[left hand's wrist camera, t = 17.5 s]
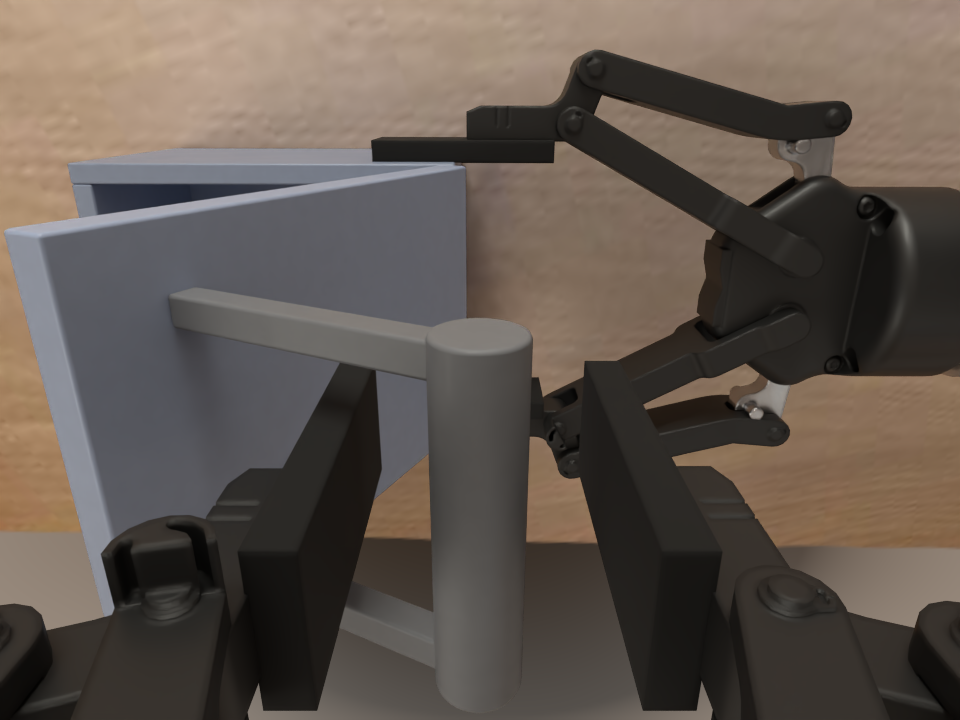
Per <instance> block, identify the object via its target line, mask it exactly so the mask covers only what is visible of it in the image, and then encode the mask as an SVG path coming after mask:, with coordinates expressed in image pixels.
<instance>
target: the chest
mask: <svg viewBox="0 0 960 720" xmlns="http://www.w3.org/2000/svg"><path fill="white" fill-rule="evenodd" d="M439 165H450V166H461V163H454V162H372V149H290V148H175V149H167V150H160V151H153V152H146V153H138V154H131V155H124V156H117V157H109V158H102V159H95V160H87V161H80V162H73V163H68V169H69V173H70V178H71V182H72V183H73V184H74V185H73V191H74V196H75V200H76V205H77V209H78V214H79V218H83V217H90V216H96V215H103V214H110V213H117V212H124V211H131V210H138V209H144V208H151V207H158V206H165V205H172V204H179V203H186V202H192V201H199V200H206V199H213V198H220V197H227V196H234V195H240V194H247V193H254V192H261V191H268V190H275V189H282V188H288V187H295V186H302V185H309V184H316V183H323V182H330V181H336V180H343V179H350V178H357V177H364V176H371V175H378V174H384V173H391V172H398V171H405V170H412V169H419V168H426V167H432V166H439Z"/></svg>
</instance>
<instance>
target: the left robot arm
mask: <svg viewBox="0 0 960 720" xmlns="http://www.w3.org/2000/svg"><path fill="white" fill-rule="evenodd" d="M381 471H382V460H381V444H380V429H379V413H378V397H377V381H376V370H372V369H367V368H362V367H358V366H353V365H348V364H343V363H339V365H338V367H337V369H336V371H335V373H334V374H333V376H332V378H331V380H330V382H329V384H328V386H327V387H326V389H325V391H324V393H323V395H322V397H321V398H320V400H319V402H318V404H317V406H316V408H315V409H314V411H313V413H312V415H311V417H310V419H309V420H308V422H307V424H306V426H305V428H304V430H303V431H302V433H301V435H300V437H299V439H298V441H297V443H296V444H295V446H294V448H293V450H292V452H291V454H290V455H289V457H288V459H287V461H286V463H285V465H284V466H283V468H250V469H248V470H247V471H245V472H244V473H243V474H241V475H240V476H238V477H237V478H235V479H234V480H233V481H231V482H230V483H228V484H227V486H226V487H225V489H224V490H223V492H222V493H221V495H220V497H219V498H218V500H217V501H216V506H213V507H212V509H211V510H210V512H209V513H208V515H207V516H206V519H204V518H200V517H196V516H192V515H170V516H165V517H161V518H156V519H152V520H148V521H146V522H143V523H141V524H138V525H136V526H134V527H131V528H129V529H127V530H126V531H124V532H123V533H121V534H120V535H118V536H117V537H116V538H114V539H113V540H111V541H110V543H109V544H108V545H107V546H106V548H105V549H104V550H103V551H102V553H101V558H102V562H103V566H104V569H105V573H106V577H107V581H108V585H109V589H110V593H111V597H112V601H113V604H114V610H113V613H112V615H109V616H106V617H103V618H99V619H96V620H92V621H87V622H83V623H78V624H74V625H69V626H65V627H60V628H56V629H51V630H47V631H46V628H45V625H44V622H43V619H42V615H41V614H40V613H39V612H37V611H36V610H35V609H34V608H33V607H31V606H25V605H19V604H8V605H0V720H249V718H248V709H249V707H250V704H251V701H252V699H253V696H254V694H255V691H256V688H257V686H258V683H259V686H260V693H261V699H262V705H263V710H264V711H317V709H318V705H319V702H320V698H321V694H322V690H323V687H324V683H325V679H326V676H327V672H328V668H329V664H330V661H331V657H332V653H333V649H334V646H335V642H336V638H337V635H338V631H339V627H340V624H341V620H342V616H343V612H344V609H345V605H346V601H347V597H348V594H349V590H350V586H351V583H352V579H353V575H354V571H355V568H356V564H357V560H358V557H359V553H360V549H361V545H362V542H363V538H364V534H365V531H366V527H367V523H368V519H369V516H370V512H371V508H372V505H373V501H374V497H375V493H376V490H377V486H378V482H379V479H380V475H381ZM578 471H579V475H580V479H581V482H582V486H583V490H584V493H585V497H586V501H587V505H588V508H589V512H590V516H591V519H592V523H593V527H594V531H595V534H596V538H597V542H598V545H599V549H600V553H601V556H602V560H603V564H604V567H605V571H606V575H607V579H608V583H609V586H610V590H611V594H612V597H613V601H614V605H615V608H616V612H617V616H618V620H619V624H620V627H621V631H622V634H623V638H624V642H625V646H626V650H627V653H628V657H629V661H630V664H631V668H632V672H633V676H634V679H635V683H636V687H637V690H638V694H639V698H640V701H641V705H642V709H643V711H696V710H697V705H698V699H699V693H700V687H701V681H702V683H703V685H704V688H705V690H706V693H707V696H708V698H709V701H710V703H711V706H712V709H713V712H712V718H711V720H960V602H951V601H943V602H937V603H931V604H928V605H927V606H926V607H925V608H924V609H923V610H921V611H920V612H919V615H918V618H917V622H916V625H915V628H912V627H908V626H903V625H899V624H894V623H890V622H885V621H880V620H876V619H872V618H867V617H864V616H860V615H857V614H853V613H850V612H847V609H846V607H845V606H844V604H843V603H842V601H841V600H840V598H839V597H838V595H837V594H836V593H835V592H834V591H833V590H831V589H830V588H829V587H828V586H826V585H825V584H824V583H823V582H821V581H820V580H818V579H816V578H814V577H812V576H810V575H808V574H806V573H804V572H802V571H799V570H795V569H791V568H790V567H789V565H788V564H787V563H786V561H785V560H784V558H783V557H782V555H781V554H780V552H779V551H778V549H777V548H776V546H775V545H774V543H773V542H772V540H771V539H770V537H769V536H768V534H767V533H766V531H765V530H764V528H763V527H762V525H761V524H760V522H759V521H758V519H755V515H754V513H753V512H752V510H751V509H750V507H749V506H748V504H745V500H744V498H743V497H742V495H741V494H740V492H739V491H738V489H737V488H736V486H735V485H734V483H733V482H732V481H731V480H729V479H728V478H726V477H725V476H724V475H722V474H721V473H719V472H718V471H716V470H715V469H714V468H712V467H711V466H676V465H675V463H674V461H673V459H672V457H671V455H670V454H669V452H668V450H667V448H666V446H665V444H664V443H663V441H662V439H661V437H660V435H659V433H658V431H657V430H656V428H655V426H654V424H653V422H652V420H651V419H650V417H649V415H648V413H647V411H646V409H645V408H644V406H643V404H642V402H641V400H640V398H639V397H638V395H637V393H636V391H635V389H634V387H633V386H632V384H631V382H630V380H629V378H628V376H627V374H626V373H625V371H624V369H623V367H622V365H621V363H620V362H619V361H585V365H584V381H583V397H582V413H581V428H580V444H579V460H578Z"/></svg>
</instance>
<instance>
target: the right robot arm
mask: <svg viewBox="0 0 960 720" xmlns="http://www.w3.org/2000/svg"><path fill="white" fill-rule="evenodd" d="M601 95H603V96H607V97H610V98H614V99H617V100H621V101H624V102H628V103H631V104H634V105H638V106H641V107H645V108H648V109H652V110H655V111H658V112H662V113H665V114H669V115H672V116H676V117H679V118H683V119H686V120H689V121H693V122H696V123H700V124H703V125H707V126H710V127H713V128H717V129H720V130H724V131H727V132H731V133H734V134H738V135H742V136H747V137H755V138H764V139H768V150H769V152H770V154H771V155H772V157H774V158H776V159H779V160H784V161H787V162H788V163H790V165H791V166H792V168H793V170H794V176H793V177H791V178H790V179H788V180H786V181H785V182H783V183H782V184H780V185H779V186H777V187H776V188H774V189H773V190H771V191H770V192H768V193H767V194H765V195H764V196H762V197H761V198H759V199H758V200H756V201H755V202H753V203H752V204H750V205H749V206H746V205H745V204H743V203H741V202H739V201H738V200H736V199H734V198H732V197H730V196H728V195H726V194H724V193H723V192H721V191H719V190H718V189H716V188H714V187H713V186H711V185H709V184H708V183H706V182H704V181H703V180H701V179H699V178H698V177H696V176H694V175H693V174H691V173H689V172H688V171H686V170H684V169H683V168H681V167H679V166H678V165H676V164H674V163H673V162H671V161H669V160H668V159H666V158H664V157H663V156H661V155H659V154H658V153H656V152H654V151H653V150H651V149H649V148H648V147H646V146H644V145H643V144H641V143H639V142H638V141H636V140H634V139H633V138H631V137H629V136H628V135H626V134H624V133H623V132H621V131H619V130H618V129H616V128H614V127H613V126H611V125H609V124H608V123H606V122H604V121H603V120H601V119H599V118H598V117H596V116H595V115H594V113H595V110H596V108H597V105H598V103H599V100H600V98H601ZM851 120H852V111H851V109H850V107H849V105H847V104H846V103H844V102H841V101H804V102H794V103H783V104H781V103H778V102H774V101H771V100H768V99H764V98H761V97H757V96H754V95H751V94H747V93H744V92H741V91H737V90H734V89H731V88H727V87H724V86H720V85H717V84H714V83H710V82H707V81H704V80H700V79H697V78H694V77H690V76H687V75H683V74H680V73H677V72H673V71H670V70H667V69H663V68H660V67H657V66H653V65H650V64H646V63H643V62H640V61H636V60H633V59H630V58H626V57H623V56H620V55H616V54H613V53H609V52H606V51H603V50H593V51H590V52H587V53H585V54H584V55H582V56H580V57H578V58H577V59H576V60H575V61H574V62H573V64H572V66H571V68H570V74H569V76H568V79H567V82H566V84H565V87H564V90H563V92H562V94H561V96H560V97H559V98H558V99H557V100H556V101H555V102H554V103H552V104H549V105H546V106H479V107H477V108H474V109H472V110H469V111H467V137H381V138H377V139H374V140H371V146H372V162H454V163H554V145H555V141H565V142H567V143H568V144H570V145H572V146H574V147H575V148H577V149H579V150H580V151H582V152H584V153H585V154H587V155H589V156H591V157H592V158H594V159H596V160H597V161H599V162H601V163H602V164H604V165H606V166H608V167H609V168H611V169H613V170H614V171H616V172H618V173H619V174H621V175H623V176H625V177H626V178H628V179H630V180H631V181H633V182H635V183H637V184H638V185H640V186H642V187H643V188H645V189H647V190H648V191H650V192H652V193H654V194H655V195H657V196H659V197H660V198H662V199H664V200H665V201H667V202H669V203H671V204H672V205H674V206H676V207H677V208H679V209H681V210H682V211H684V212H686V213H688V214H689V215H691V216H692V217H694V218H696V219H697V220H699V221H701V222H702V223H704V224H706V225H708V226H709V227H711V228H713V229H714V230H716V231H715V233H714V235H713V236H712V239H711V240H706V244H705V252H704V264H705V270H706V279H705V282H704V284H703V286H702V289H701V291H700V294H699V299H698V307H697V313H698V314H699V315H700V316H698V317H696V318H694V319H692V320H690V321H688V322H686V323H684V324H682V325H680V326H679V327H678V328H677V329H676V330H675V332H674V333H673V334H671V335H670V336H668V337H666V338H663V339H661V340H659V341H657V342H655V343H653V344H651V345H649V346H647V347H645V348H643V349H641V350H639V351H636V352H634V353H632V354H630V355H628V356H626V357H624V358H622V359H620V360H618V361H619V362H620V363H621V365H622V367H623V369H624V371H625V373H626V374H627V376H628V378H629V380H630V382H631V384H632V386H633V387H634V389H635V391H636V393H637V395H638V397H639V398H640V400H641V402H642V404H645V403H647V402H649V401H651V400H653V399H656V398H658V397H660V396H662V395H664V394H666V393H668V392H671V391H673V390H675V389H677V388H679V387H681V386H684V385H686V384H688V383H690V382H692V381H694V380H696V379H699V378H714V377H717V376H719V375H722V374H724V373H726V372H728V371H730V370H732V369H734V368H737V367H739V366H741V365H743V364H745V363H746V364H747V365H749V366H750V367H751V368H753V369H754V370H755V371H757V372H758V373H759V377H758V378H757V380H756V381H755V382H753V383H752V384H750V385H746V386H735V387H733V388H732V389H731V390H730V395H711V396H705V397H700V398H695V399H691V400H687V401H682V402H678V403H673V404H669V405H665V406H660V407H656V408H652V409H647V410H646V411H647V413H648V415H649V417H650V419H651V420H652V422H653V424H654V426H655V428H656V430H657V431H658V433H659V435H660V437H661V439H662V441H663V443H664V444H665V446H666V448H667V450H668V452H669V454H670V455H671V457H673V456H678V455H682V454H687V453H691V452H696V451H700V450H705V449H709V448H714V447H719V446H723V445H728V444H732V443H736V444H748V445H760V446H771V447H772V446H779V445H781V444H783V443H784V442H785V441H786V440H787V439H788V437H789V435H790V429H789V427H788V425H787V424H786V423H785V422H784V421H783V420H782V419H781V417H782V413H783V410H784V406H785V403H786V399H787V396H788V393H789V389H790V386H791V385H793V384H797V383H799V382H801V381H804V380H806V379H808V378H810V377H813V376H817V375H822V374H832V375H844V376H934V375H938V374H943V375H947V376H951V377H960V190H955V189H952V188H946V187H848V186H846V185H844V184H842V183H841V182H839V181H838V180H836V179H835V178H832V177H831V172H832V162H833V152H834V142H835V136H839V135H841V134H842V133H843V132H845V131H846V130H847V128H848V127H849V125H850V123H851ZM583 381H584V377H583V378H580V379H578V380H576V381H574V382H572V383H570V384H568V385H566V386H564V387H562V388H560V389H558V390H556V391H553V392H551V393H549V394H547V395H546V396H544V397H543V396H542V391H541V386H540V382H539V377H532V379H531V409H530V437H540V438H543V439H544V440H546V441H547V444H548V445H549V447H550V448H551V449H552V452H553V455H554V457H555V460H556V463H557V467H558V470H559V472H560V474H561V475H562V476H563V477H566V478H569V479H572V478H578V477H580V475H579V471H578V460H579V444H580V428H581V413H582V397H583Z"/></svg>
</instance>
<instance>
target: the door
mask: <svg viewBox="0 0 960 720" xmlns="http://www.w3.org/2000/svg"><path fill="white" fill-rule="evenodd" d="M4 235H5V239H6V242H7V246H8V250H9V254H10V258H11V262H12V265H13V269H14V273H15V277H16V281H17V285H18V288H19V292H20V296H21V300H22V304H23V308H24V311H25V315H26V319H27V323H28V327H29V330H30V334H31V338H32V342H33V346H34V350H35V353H36V357H37V361H38V365H39V369H40V373H41V376H42V380H43V384H44V388H45V392H46V396H47V399H48V403H49V407H50V411H51V415H52V418H53V422H54V426H55V430H56V434H57V438H58V441H59V445H60V449H61V453H62V457H63V461H64V464H65V468H66V472H67V476H68V480H69V484H70V487H71V491H72V495H73V499H74V503H75V507H76V510H77V514H78V518H79V522H80V526H81V529H82V533H83V537H84V541H85V545H86V549H87V552H88V556H89V560H90V564H91V568H92V572H93V575H94V579H95V583H96V587H97V591H98V594H99V598H100V602H101V606H102V610H103V614H104V617H106V616H109V615H112V613H113V610H114V604H113V601H112V597H111V593H110V589H109V585H108V581H107V577H106V573H105V569H104V566H103V562H102V558H101V553H102V551H103V550H104V549H105V548H106V546H107V545H108V544H109V543H110V541H111V540H113V539H114V538H116V537H117V536H118V535H120V534H121V533H123V532H124V531H126V530H127V529H129V528H131V527H134V526H136V525H138V524H141V523H143V522H146V521H148V520H152V519H156V518H161V517H165V516H170V515H192V516H196V517H200V518H204V519H206V516H207V515H208V513H209V512H210V510H211V509H212V507H213V506H216V501H217V500H218V498H219V497H220V495H221V493H222V492H223V490H224V489H225V487H226V486H227V484H228V483H230V482H231V481H233V480H234V479H235V478H237V477H238V476H240V475H241V474H243V473H244V472H245V471H247V470H248V469H250V468H283V466H284V465H285V463H286V461H287V459H288V457H289V455H290V454H291V452H292V450H293V448H294V446H295V444H296V443H297V441H298V439H299V437H300V435H301V433H302V431H303V430H304V428H305V426H306V424H307V422H308V420H309V419H310V417H311V415H312V413H313V411H314V409H315V408H316V406H317V404H318V402H319V400H320V398H321V397H322V395H323V393H324V391H325V389H326V387H327V386H328V384H329V382H330V380H331V378H332V376H333V374H334V373H335V371H336V369H337V367H338V365H339V363H343V364H348V365H353V366H358V367H362V368H367V369H372V370H376V381H377V397H378V413H379V429H380V444H381V460H382V471H381V475H380V479H379V482H378V486H377V490H376V493H375V497H374V499H375V498H377V497H378V496H379V495H380V494H381V493H382V492H384V491H385V490H386V489H387V488H388V487H390V486H391V485H392V484H393V483H394V482H395V481H397V480H398V479H399V478H400V477H401V476H403V475H404V474H405V473H406V472H407V471H408V470H410V469H411V468H412V467H413V466H414V465H416V464H417V463H418V462H419V461H420V460H422V459H423V458H424V457H425V456H426V455H427V454H429V479H430V512H431V546H432V580H433V612H431V611H429V610H426V609H423V608H421V607H418V606H416V605H413V604H410V603H408V602H405V601H403V600H400V599H398V598H395V597H392V596H390V595H387V594H385V593H382V592H379V591H377V590H374V589H372V588H369V587H366V586H364V585H361V584H359V583H356V582H353V581H352V583H351V586H350V590H349V594H348V597H347V601H346V605H345V609H344V612H343V616H342V620H341V624H340V627H339V628H341V629H343V630H346V631H348V632H350V633H352V634H355V635H357V636H360V637H362V638H364V639H367V640H369V641H371V642H374V643H376V644H378V645H381V646H383V647H385V648H388V649H390V650H392V651H395V652H397V653H399V654H402V655H404V656H406V657H409V658H411V659H413V660H416V661H418V662H420V663H423V664H425V665H428V666H430V667H432V668H434V669H435V678H436V684H437V687H438V690H439V691H440V693H441V695H442V696H443V697H444V699H445V700H446V701H447V702H448V703H450V704H451V705H452V706H454V707H456V708H458V709H460V710H463V711H466V712H471V713H486V712H491V711H494V710H497V709H499V708H501V707H503V706H504V705H506V704H507V703H508V702H510V701H511V700H512V698H513V697H514V696H515V694H516V693H517V691H518V689H519V687H520V684H521V677H522V646H523V618H524V588H525V558H526V528H527V498H528V468H529V439H530V409H531V379H532V349H533V338H532V335H531V333H530V331H529V330H528V329H527V328H525V327H524V326H522V325H519V324H517V323H513V322H510V321H505V320H500V319H492V318H467V292H466V168H465V167H464V166H450V165H439V166H432V167H426V168H419V169H412V170H405V171H398V172H391V173H384V174H378V175H371V176H364V177H357V178H350V179H343V180H336V181H330V182H323V183H316V184H309V185H302V186H295V187H288V188H282V189H275V190H268V191H261V192H254V193H247V194H240V195H234V196H227V197H220V198H213V199H206V200H199V201H192V202H186V203H179V204H172V205H165V206H158V207H151V208H144V209H138V210H131V211H124V212H117V213H110V214H103V215H96V216H90V217H83V218H76V219H69V220H62V221H55V222H48V223H42V224H35V225H28V226H21V227H14V228H9V229H7V230H5V232H4Z"/></svg>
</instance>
